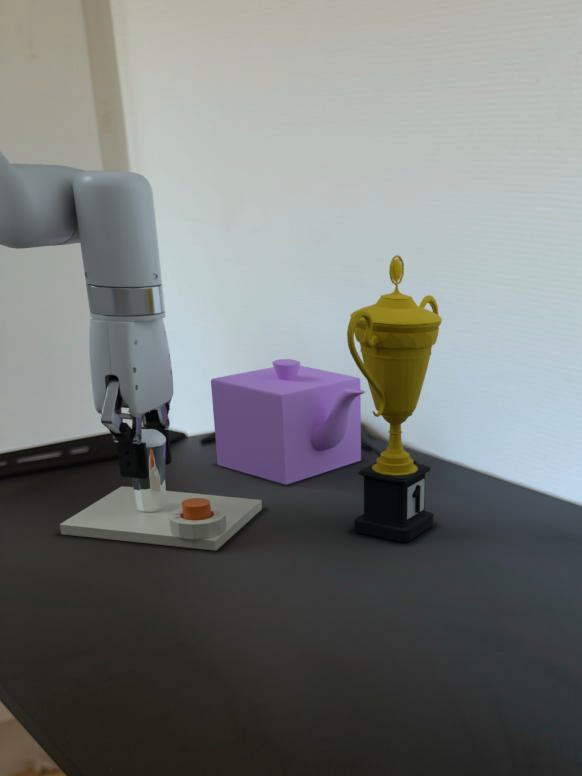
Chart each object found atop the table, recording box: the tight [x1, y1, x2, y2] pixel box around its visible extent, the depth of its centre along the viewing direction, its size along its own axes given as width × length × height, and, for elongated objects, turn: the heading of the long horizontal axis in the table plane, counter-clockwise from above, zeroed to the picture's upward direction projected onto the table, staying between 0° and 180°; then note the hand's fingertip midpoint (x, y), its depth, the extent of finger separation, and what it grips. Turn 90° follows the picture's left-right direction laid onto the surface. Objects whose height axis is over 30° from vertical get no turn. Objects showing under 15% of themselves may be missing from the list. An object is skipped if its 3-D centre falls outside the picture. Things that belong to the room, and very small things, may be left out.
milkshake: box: [131, 429, 167, 512], centre depth 105 cm, size 4×5×10 cm
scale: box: [59, 485, 263, 552], centre depth 107 cm, size 18×14×3 cm
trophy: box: [346, 254, 443, 543], centre depth 102 cm, size 19×10×30 cm, turn 155°
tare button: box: [182, 498, 211, 520], centre depth 101 cm, size 3×3×2 cm
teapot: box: [210, 358, 366, 486], centre depth 127 cm, size 15×25×14 cm, turn 56°
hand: (146, 468), depth 106 cm, fingers closed on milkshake, 4 cm apart
